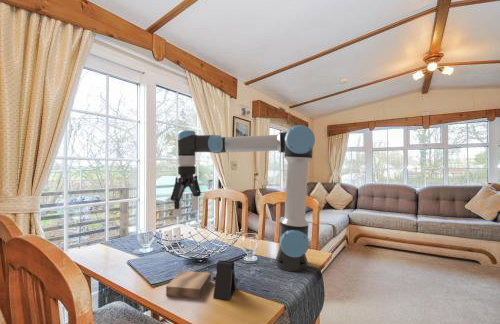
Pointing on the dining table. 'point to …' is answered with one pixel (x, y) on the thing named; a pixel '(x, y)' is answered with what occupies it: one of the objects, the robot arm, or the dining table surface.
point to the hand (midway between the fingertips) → (187, 213)
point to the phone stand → (225, 280)
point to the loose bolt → (214, 275)
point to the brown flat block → (188, 284)
